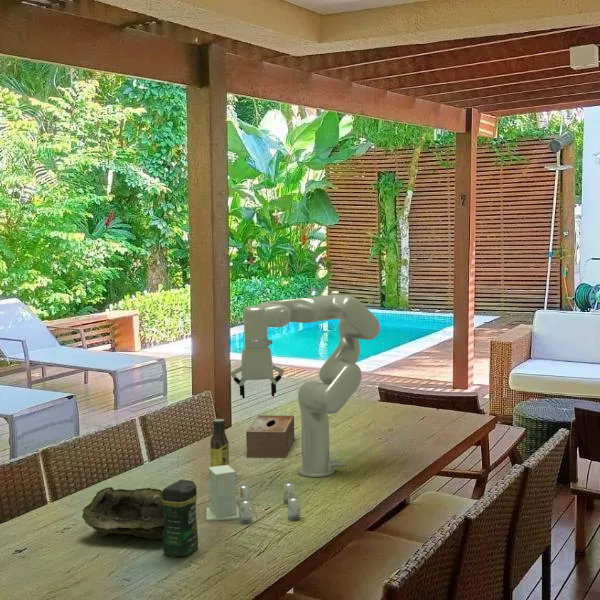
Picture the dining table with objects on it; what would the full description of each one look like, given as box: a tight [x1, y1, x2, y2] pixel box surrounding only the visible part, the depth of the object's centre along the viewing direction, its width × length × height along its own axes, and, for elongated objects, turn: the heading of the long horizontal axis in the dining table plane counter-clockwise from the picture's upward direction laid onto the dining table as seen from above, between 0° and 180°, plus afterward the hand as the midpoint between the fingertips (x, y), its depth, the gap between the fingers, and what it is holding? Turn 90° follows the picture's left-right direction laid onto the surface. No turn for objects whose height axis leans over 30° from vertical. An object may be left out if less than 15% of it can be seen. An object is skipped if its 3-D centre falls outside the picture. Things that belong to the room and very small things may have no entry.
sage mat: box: [205, 505, 240, 522], centre depth 244 cm, size 10×10×1 cm
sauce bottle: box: [209, 418, 230, 467], centre depth 279 cm, size 7×6×20 cm
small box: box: [208, 464, 238, 517], centre depth 244 cm, size 8×6×13 cm
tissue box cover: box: [245, 414, 295, 459], centre depth 314 cm, size 26×14×10 cm, turn 173°
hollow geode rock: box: [81, 487, 164, 541], centre depth 229 cm, size 28×13×15 cm
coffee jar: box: [162, 479, 199, 558], centre depth 217 cm, size 10×8×19 cm
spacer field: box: [237, 481, 301, 524], centre depth 246 cm, size 18×18×6 cm
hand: (258, 396), depth 267 cm, fingers open, 9 cm apart
